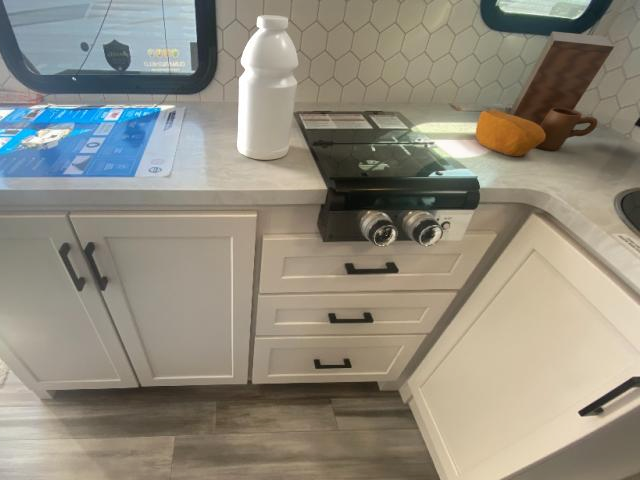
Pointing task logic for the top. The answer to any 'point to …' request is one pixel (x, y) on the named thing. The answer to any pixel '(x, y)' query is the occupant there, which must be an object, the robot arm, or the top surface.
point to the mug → (563, 127)
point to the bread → (508, 133)
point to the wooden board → (561, 74)
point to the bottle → (267, 91)
